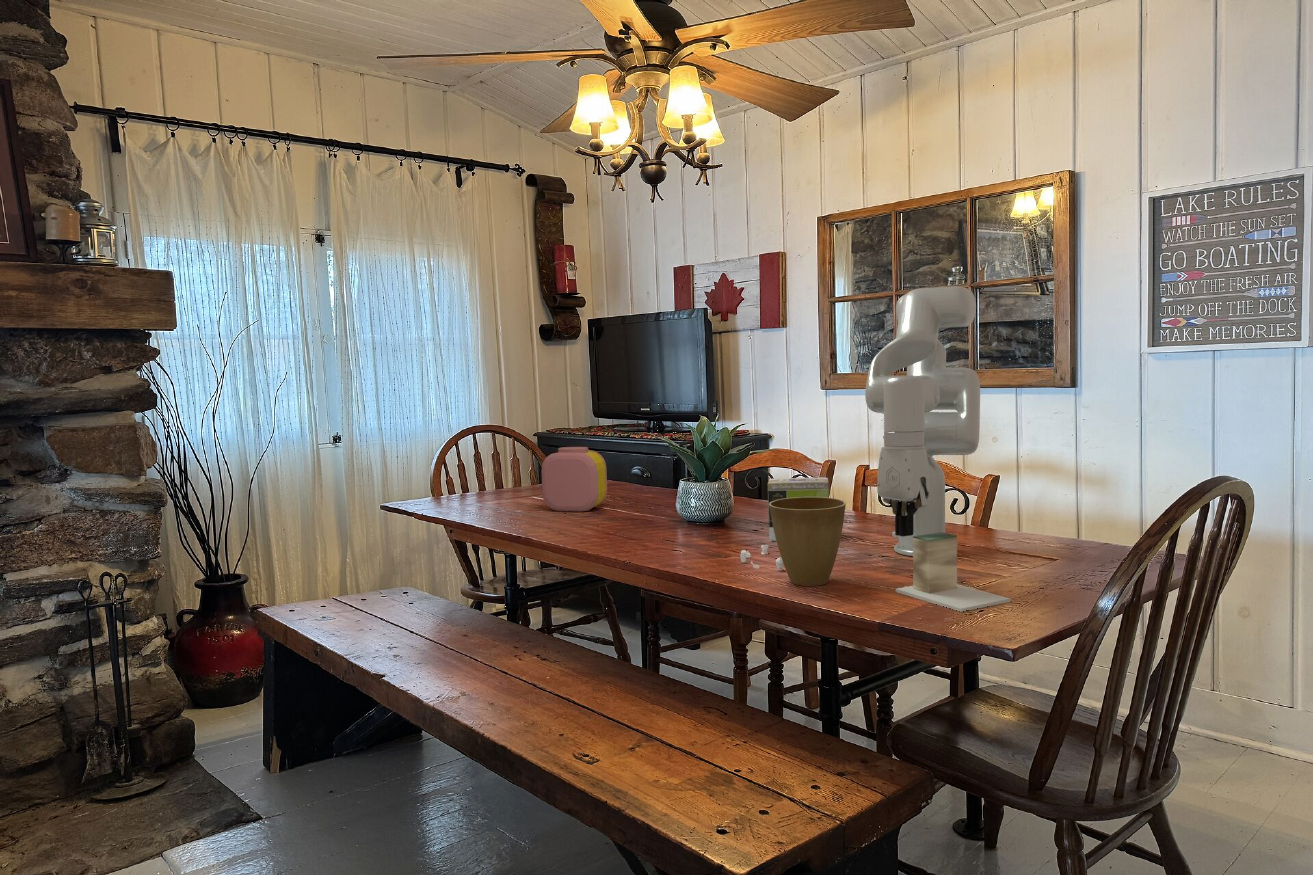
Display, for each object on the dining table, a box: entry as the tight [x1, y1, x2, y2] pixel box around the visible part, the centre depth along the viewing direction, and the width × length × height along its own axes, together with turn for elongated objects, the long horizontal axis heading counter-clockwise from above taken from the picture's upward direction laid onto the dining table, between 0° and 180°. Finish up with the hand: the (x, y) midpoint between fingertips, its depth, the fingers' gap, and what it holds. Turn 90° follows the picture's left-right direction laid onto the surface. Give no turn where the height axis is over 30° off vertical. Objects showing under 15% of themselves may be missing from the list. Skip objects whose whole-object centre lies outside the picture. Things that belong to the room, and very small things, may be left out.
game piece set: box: [739, 544, 785, 572], centre depth 191 cm, size 19×20×4 cm
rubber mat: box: [895, 583, 1011, 613], centre depth 158 cm, size 16×12×1 cm
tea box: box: [767, 476, 830, 542], centre depth 216 cm, size 15×10×15 cm, turn 80°
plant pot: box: [769, 497, 847, 587], centre depth 171 cm, size 15×15×16 cm
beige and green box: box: [912, 532, 958, 594], centre depth 161 cm, size 4×7×10 cm, turn 117°
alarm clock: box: [540, 446, 608, 513], centre depth 270 cm, size 18×11×19 cm, turn 74°
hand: (904, 535), depth 168 cm, fingers closed
